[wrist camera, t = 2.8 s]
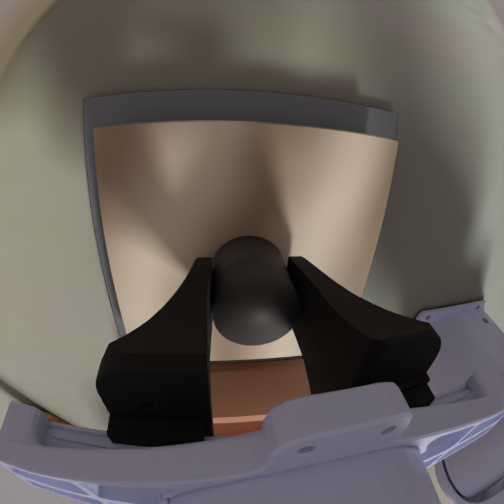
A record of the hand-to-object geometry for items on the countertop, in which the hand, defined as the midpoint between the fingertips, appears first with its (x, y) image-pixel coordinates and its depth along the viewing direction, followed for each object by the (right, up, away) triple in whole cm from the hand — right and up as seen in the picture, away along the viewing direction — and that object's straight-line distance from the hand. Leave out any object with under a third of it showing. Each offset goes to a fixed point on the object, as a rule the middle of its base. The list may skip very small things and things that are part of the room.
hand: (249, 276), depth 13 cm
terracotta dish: (-1, -11, +10) cm, 15 cm away
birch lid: (0, +1, +1) cm, 2 cm away
